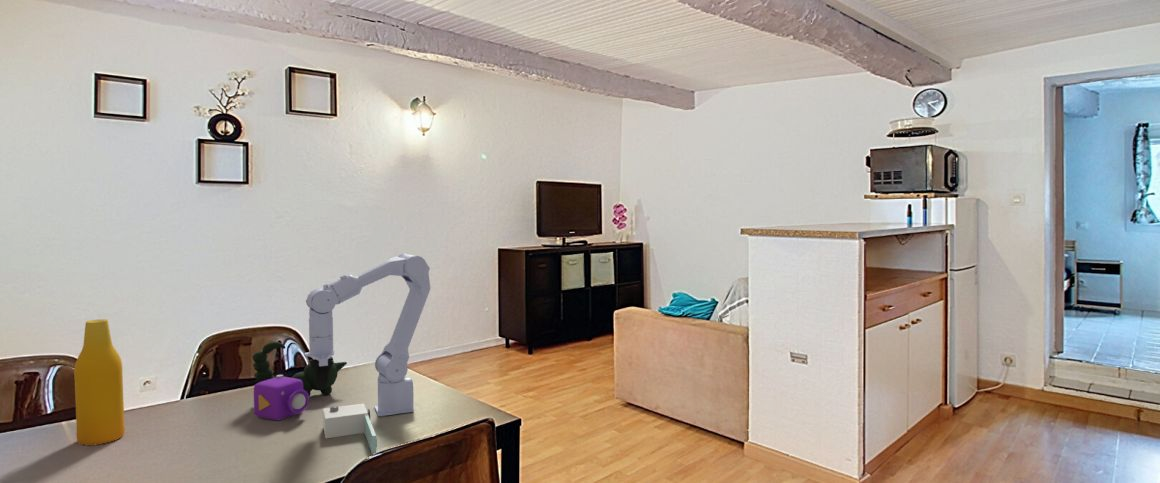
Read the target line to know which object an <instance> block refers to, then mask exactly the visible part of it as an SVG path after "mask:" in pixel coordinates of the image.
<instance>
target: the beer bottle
mask: <svg viewBox="0 0 1160 483" xmlns="http://www.w3.org/2000/svg"><path fill="white" fill-rule="evenodd" d="M84 325H85V326H84V336H83V344H82V349H81V351H80V353H79V354H78V357H77V359H76V361H75V365H74V369H73V372H74V374H73V376H74V395H75V397H74V399H75V418H76V419H75V420H76V421H75V422H76V424H75V425H76V442H77V443H78V444H79V443H80V444H79V445H81V444H85V445H84V446H86V445H92V446H96V445H95V444H100V445H103V444H102V443H105V444H108V443H107V442H109V443H112V442H111V441H113V442H115V441H117V439H118V440H120V439H121V438H122V437H123V436H124V434H125V430H126V428H125V426H126V425H125V408H124V406H125V405H124V384H123V383H124V382H123V380H124V379H123V363H122V362H123V361H122V358H121V356H120V354H119V353H118V351H117V350H116V348H115V347H114V345H113V343H112V337H111V331H110V325H109V320H108V319H104V318H101V319H91V320H87V321H85V324H84ZM119 438H120V439H119ZM114 440H115V441H114Z"/></svg>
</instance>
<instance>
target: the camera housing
mask: <svg viewBox="0 0 1160 483" xmlns="http://www.w3.org/2000/svg"><path fill="white" fill-rule="evenodd" d="M322 413H323V414H322V417H323V418H322V419H323V420H322V421H323V422H322V423H323V425H322V426H323V431H324V437H325V439H330V438H331V439H332V438H339V437H344V436H351V435H353V436H354V435H359V434H365V426H364V414H368V416H369V419H370V420H371V410H370V409H369V408H366V404H365V403H363V402H362V403H357V404H349V405H348V404H347V405H340V406H338V405H333V406H330V407H325V408H323V409H322Z"/></svg>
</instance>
